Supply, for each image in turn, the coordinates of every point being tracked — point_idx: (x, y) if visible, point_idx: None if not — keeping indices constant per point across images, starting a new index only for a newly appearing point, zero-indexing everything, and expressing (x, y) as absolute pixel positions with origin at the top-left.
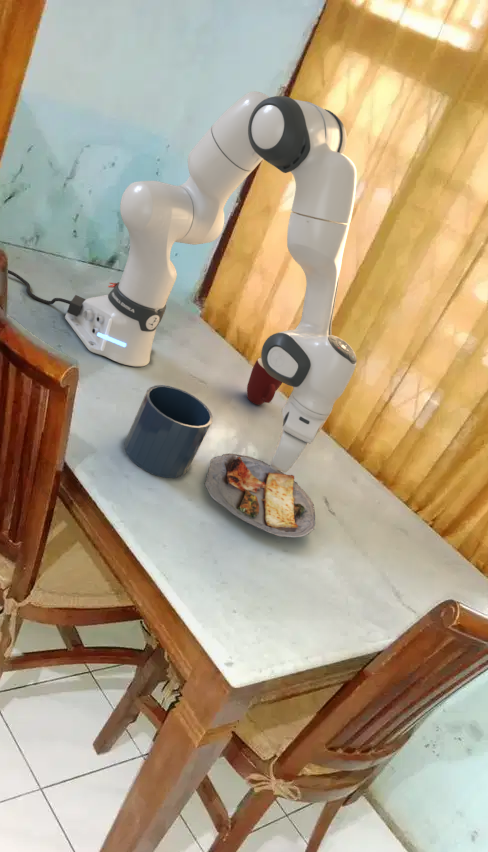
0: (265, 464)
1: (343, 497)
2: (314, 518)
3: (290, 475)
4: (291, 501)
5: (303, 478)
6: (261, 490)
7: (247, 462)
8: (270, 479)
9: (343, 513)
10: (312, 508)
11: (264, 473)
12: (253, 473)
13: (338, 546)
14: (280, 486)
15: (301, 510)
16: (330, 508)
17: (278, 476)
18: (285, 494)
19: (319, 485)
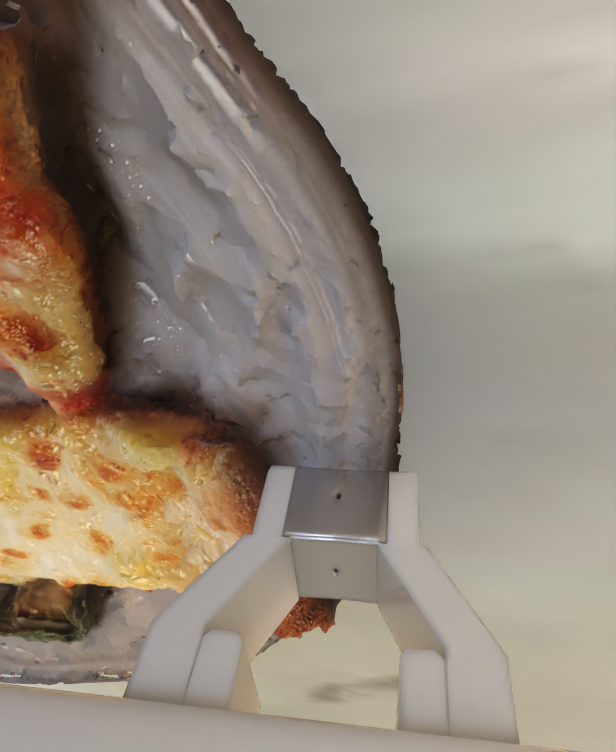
0: (368, 396)
1: (546, 742)
2: (35, 675)
3: (294, 614)
4: (80, 577)
5: (582, 604)
6: (19, 385)
7: (218, 194)
8: (130, 462)
9: (378, 727)
10: (128, 670)
11: (221, 396)
12: (171, 287)
13: (84, 690)
14: (153, 523)
15: (5, 635)
16: (361, 692)
17: (210, 526)
18: (107, 549)
19: (573, 670)
